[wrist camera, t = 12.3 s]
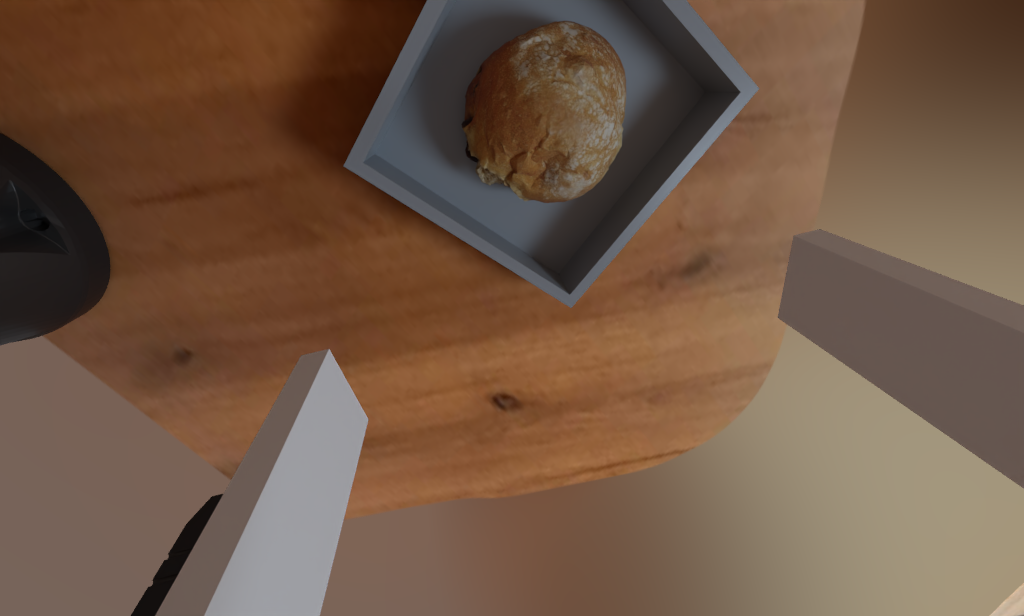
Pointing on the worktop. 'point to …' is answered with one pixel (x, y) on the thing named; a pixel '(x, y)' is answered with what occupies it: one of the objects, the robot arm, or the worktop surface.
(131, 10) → the worktop surface
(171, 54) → the worktop surface
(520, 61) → the bread roll
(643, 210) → the bread tray
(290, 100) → the worktop surface
